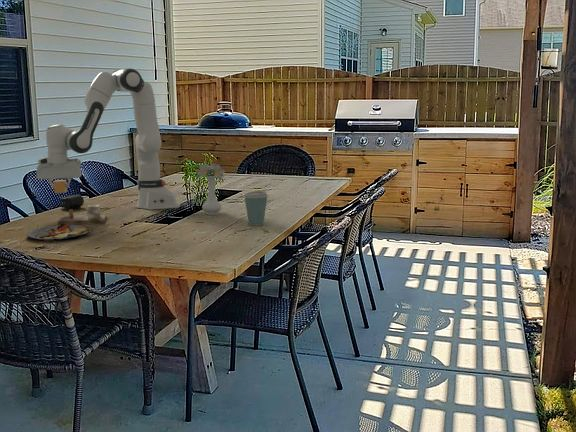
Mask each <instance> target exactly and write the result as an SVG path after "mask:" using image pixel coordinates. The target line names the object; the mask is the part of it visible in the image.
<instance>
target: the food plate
mask: <svg viewBox="0 0 576 432" xmlns="http://www.w3.org/2000/svg"><path fill="white" fill-rule="evenodd" d="M90 231H91V230H90V227H89V226H84V225H83V226H82V225H74V224H60V225H56V226H47V227H46V226H45V227H41V228H37V229H32V230H29V231H28V232H27V233H25V235H26V236H27V237H29V238H33V239H37V240H41V241H45V242H46V241H49V242H51V241H54V240H55V239H56V241H57V240H58V241H59V240H65V239H67V240H68V239H69V238H76V237H78V236H82V235H87V234H88V233H89V232H90Z"/></svg>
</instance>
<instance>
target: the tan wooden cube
mask: <svg viewBox="0 0 576 432" xmlns="http://www.w3.org/2000/svg"><path fill="white" fill-rule="evenodd" d="M53 184H54V188H53V192H54V194H66V193H67V192H68V188H66V185H65V184H67V179H58V180H57V179H54V181H53Z"/></svg>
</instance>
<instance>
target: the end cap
mask: <svg viewBox="0 0 576 432" xmlns="http://www.w3.org/2000/svg"><path fill="white" fill-rule="evenodd" d="M59 199H60V200H59V201H60V208H61V211H69V210H70V209H73V210H74V209H79V208H81V207H82V206H83V205H84V203H85V199H84V197H83V196H82V195H81V194H76V195H68V196H62V197H60V198H59ZM61 202H63V203H61Z"/></svg>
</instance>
